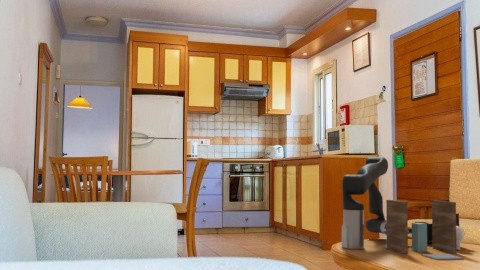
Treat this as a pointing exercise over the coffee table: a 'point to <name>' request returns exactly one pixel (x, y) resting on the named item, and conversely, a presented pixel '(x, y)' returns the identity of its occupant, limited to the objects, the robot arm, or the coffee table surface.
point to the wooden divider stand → (440, 226)
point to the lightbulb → (459, 236)
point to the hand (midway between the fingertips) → (408, 232)
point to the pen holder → (428, 232)
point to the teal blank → (419, 237)
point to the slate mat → (442, 257)
